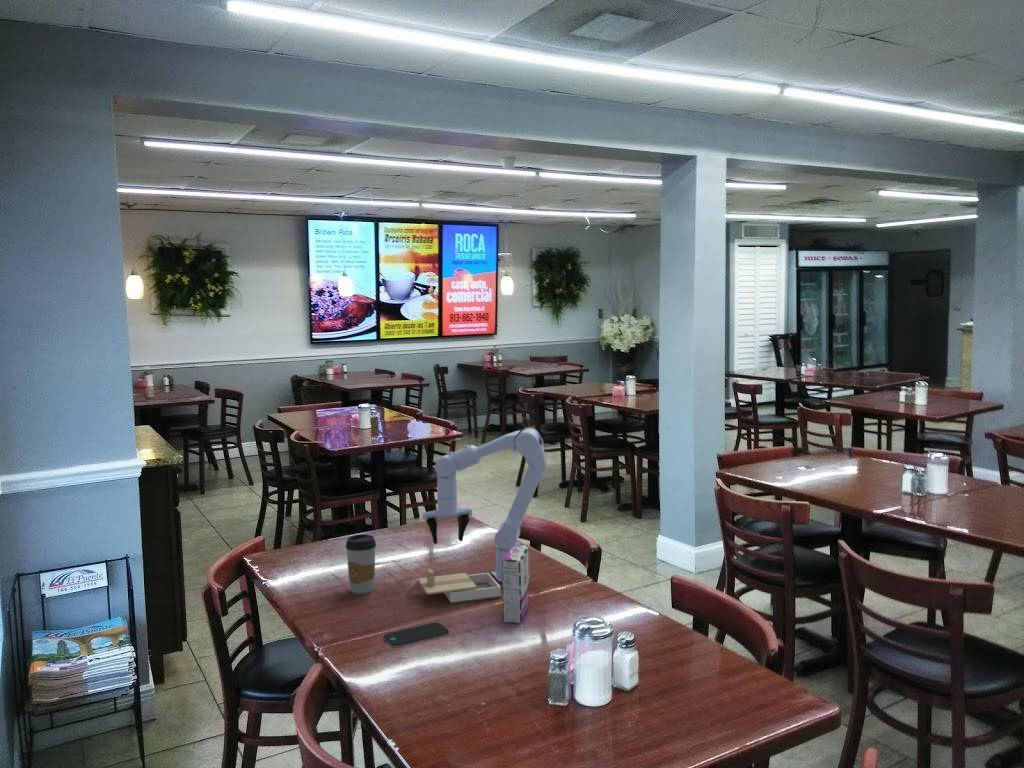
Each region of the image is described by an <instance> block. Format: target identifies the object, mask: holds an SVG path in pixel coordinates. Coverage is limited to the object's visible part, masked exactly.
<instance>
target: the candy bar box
mask: <svg viewBox="0 0 1024 768" xmlns="http://www.w3.org/2000/svg"><path fill="white" fill-rule="evenodd" d="M528 553H529V547H527V546H526V547H510V549H509V551H508V552H507V554H506V555H505V557H504V558H503V560H502V575H503V582H502V605H503V607H502V610H503V614H502V615H503V623H505V624H522V623H523V621H524V619H525V616H526V615H527V613H528V611H529V608H530V580H529V579H530V578H529V576H530V568H529V569H528Z"/></svg>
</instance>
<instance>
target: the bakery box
mask: <svg viewBox="0 0 1024 768" xmlns="http://www.w3.org/2000/svg"><path fill="white" fill-rule="evenodd" d="M467 575H468V576H469V578H470V579H471V580H472V581H473V583H474V584H475V585H476V586H477V588H476V589H468V590H460V591H452V592H444V593H443V594H444V596H445V598H446V599H447V600H448V602H449V603H450V605H453V604H460V603H469V602H476V601H477V602H478V601H485V600H492V599H499V598H501V597H502V589H501V588H502V587H501V585H500V584H499V583H498V582H497V580H495V578H493V577H492V574H490V573H489V572H484V573H483V572H482V573H475V574H467Z"/></svg>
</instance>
